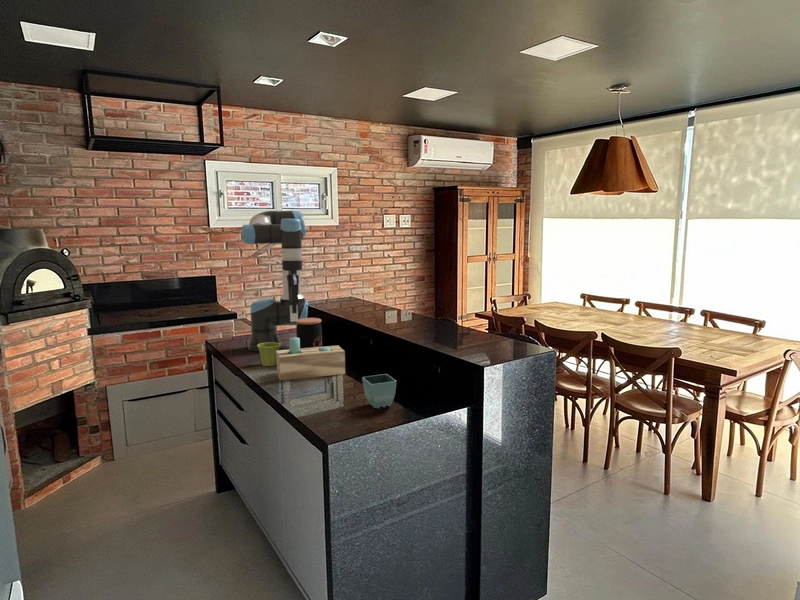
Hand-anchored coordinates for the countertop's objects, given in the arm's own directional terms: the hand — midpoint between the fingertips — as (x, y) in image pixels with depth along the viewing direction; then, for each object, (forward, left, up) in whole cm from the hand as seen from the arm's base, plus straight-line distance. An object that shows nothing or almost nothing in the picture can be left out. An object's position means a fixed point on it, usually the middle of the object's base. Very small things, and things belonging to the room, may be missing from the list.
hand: (294, 321), depth 197 cm
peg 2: (0, +12, -21) cm, 24 cm away
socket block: (0, +6, -21) cm, 22 cm away
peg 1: (0, 0, -16) cm, 16 cm away
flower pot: (+45, +20, -22) cm, 54 cm away
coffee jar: (-19, +9, -22) cm, 30 cm away
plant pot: (-19, -8, -22) cm, 30 cm away
